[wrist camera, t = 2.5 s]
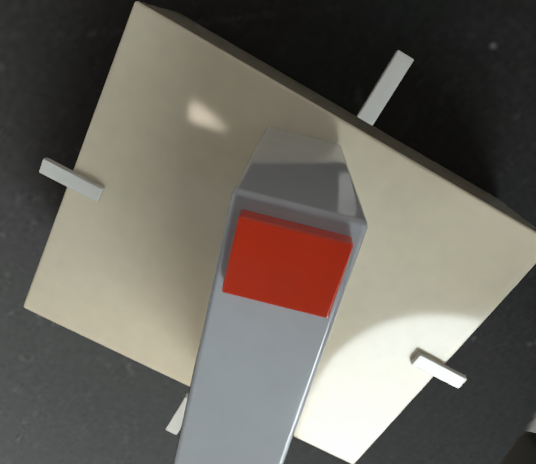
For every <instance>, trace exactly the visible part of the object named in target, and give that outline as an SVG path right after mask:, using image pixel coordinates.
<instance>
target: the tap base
mask: <svg viewBox="0 0 536 464" xmlns="http://www.w3.org/2000/svg"><path fill="white" fill-rule="evenodd" d="M413 61H414V59H413V58H411V57H409V56H408V55H406V54H405V53H403V52H401V51H400V50H397V51H396V52H395V54H394V55H393V57H392V59H391V60H390V62H389V64H388V65H387V67H386V69H385V70H384V72H383V73H382V75H381V77H380V78H379V80H378V82H377V83H376V85H375V87H374V88H373V90H372V91H371V93H370V95H369V96H368V98H367V100H366V101H365V103H364V104H363V106H362V108H361V109H360V111H359V113H358V114H357V116H355V115H353V114H352V113H350V112H348V111H347V110H345V109H343V108H341V107H340V106H338V105H336V104H335V103H333V102H331V101H329V100H328V99H326V98H324V97H323V96H321V95H319V94H317V93H316V92H314V91H312V90H310V89H309V88H307V87H305V86H304V85H302V84H300V83H298V82H297V81H295V80H293V79H292V78H290V77H288V76H286V75H285V74H283V73H281V72H280V71H278V70H276V69H274V68H273V67H271V66H269V65H268V64H266V63H264V62H262V61H261V60H259V59H257V58H256V57H254V56H252V55H250V54H249V53H247V52H245V51H244V50H242V49H240V48H238V47H237V46H235V45H233V44H232V43H230V42H228V41H226V40H225V39H223V38H221V37H220V36H218V35H216V34H214V33H213V32H211V31H209V30H208V29H206V28H204V27H202V26H201V25H199V24H197V23H196V22H194V21H192V20H190V19H189V18H187V17H185V16H184V15H182V14H180V13H178V12H174V11H171V10H167V9H164V8H160V7H157V6H153V5H150V4H146V3H143V2H139V1H136V2H135V3H134V5H133V8H132V11H131V14H130V16H129V19H128V22H127V24H126V27H125V30H124V33H123V35H122V38H121V41H120V44H119V46H118V49H117V52H116V55H115V57H114V60H113V63H112V65H111V68H110V71H109V74H108V76H107V79H106V82H105V85H104V87H103V90H102V93H101V96H100V98H99V101H98V104H97V106H96V109H95V112H94V115H93V117H92V120H91V123H90V126H89V128H88V131H87V134H86V137H85V139H84V142H83V145H82V148H81V150H80V153H79V156H78V158H77V161H76V164H75V167H74V169H73V170H71V169H69V168H67V167H65V166H63V165H61V164H59V163H57V162H55V161H53V160H51V159H50V158H48V157H46V158H44V159H43V161H42V164H41V167H40V170H39V173H41V174H43V175H45V176H47V177H49V178H51V179H53V180H55V181H57V182H59V183H61V184H63V185H64V186H66V187H67V189H66V191H65V194H64V197H63V199H62V202H61V205H60V208H59V210H58V213H57V216H56V219H55V221H54V224H53V227H52V230H51V232H50V235H49V238H48V240H47V243H46V246H45V249H44V251H43V254H42V257H41V260H40V262H39V265H38V268H37V271H36V273H35V276H34V279H33V281H32V284H31V287H30V290H29V292H28V295H27V298H26V301H25V303H24V308H26V309H28V310H30V311H32V312H34V313H36V314H38V315H40V316H42V317H45V318H47V319H49V320H51V321H53V322H55V323H57V324H59V325H61V326H63V327H65V328H68V329H70V330H72V331H74V332H76V333H78V334H80V335H82V336H84V337H86V338H89V339H91V340H93V341H95V342H97V343H99V344H101V345H103V346H105V347H107V348H110V349H112V350H114V351H116V352H118V353H120V354H122V355H124V356H126V357H128V358H130V359H133V360H135V361H137V362H139V363H141V364H143V365H145V366H147V367H149V368H151V369H154V370H156V371H158V372H160V373H162V374H164V375H166V376H168V377H170V378H172V379H175V380H177V381H179V382H181V383H183V384H185V385H187V386H189V387H190V384H191V380H192V375H193V370H194V366H195V361H196V356H197V352H198V347H199V342H200V338H201V333H202V329H203V324H204V319H205V315H206V310H207V305H208V301H209V296H210V291H211V287H212V282H213V277H214V273H215V268H216V264H217V259H218V254H219V250H220V245H221V240H222V236H223V231H224V226H225V222H226V217H227V212H228V208H229V203H230V199H231V194H232V191H233V189H234V188H235V186H236V184H237V182H238V180H239V178H240V176H241V174H242V172H243V171H244V169H245V167H246V165H247V163H248V161H249V159H250V157H251V155H252V154H253V152H254V150H255V148H256V146H257V144H258V142H259V140H260V138H261V137H262V135H263V133H264V131H265V129H266V128H267V127H269V126H271V127H275V128H279V129H283V130H287V131H290V132H294V133H298V134H302V135H306V136H310V137H314V138H318V139H322V140H326V141H329V142H333V143H337V144H339V145H341V147H342V150H343V153H344V156H345V159H346V162H347V165H348V168H349V170H350V173H351V176H352V179H353V182H354V185H355V188H356V191H357V194H358V197H359V200H360V202H361V205H362V208H363V211H364V214H365V217H366V220H367V224H368V228H367V231H366V234H365V236H364V239H363V242H362V245H361V248H360V250H359V253H358V256H357V259H356V262H355V265H354V267H353V270H352V273H351V276H350V279H349V281H348V284H347V287H346V290H345V293H344V295H343V298H342V301H341V304H340V307H339V309H338V312H337V315H336V318H335V321H334V324H333V326H332V329H331V332H330V335H329V338H328V340H327V343H326V346H325V349H324V352H323V354H322V357H321V360H320V363H319V366H318V369H317V371H316V374H315V377H314V380H313V383H312V385H311V388H310V391H309V394H308V397H307V399H306V402H305V405H304V408H303V411H302V413H301V416H300V419H299V422H298V425H297V428H296V430H295V433H294V437H296V438H298V439H300V440H302V441H304V442H307V443H309V444H311V445H313V446H315V447H317V448H319V449H321V450H323V451H325V452H328V453H330V454H332V455H334V456H336V457H338V458H340V459H342V460H344V461H346V462H348V463H351V464H355V463H356V461H357V460H358V459H359V458H360V457H361V456H362V455H363V454H364V453H365V452H366V450H367V449H368V448H369V447H370V446H371V445H372V444H373V443H374V442H375V440H376V439H377V438H378V437H379V436H380V435H381V434H382V433H383V432H384V431H385V429H386V428H387V427H388V426H389V425H390V424H391V423H392V422H393V421H394V420H395V418H396V417H397V416H398V415H399V414H400V413H401V412H402V411H403V410H404V408H405V407H406V406H407V405H408V404H409V403H410V402H411V401H412V400H413V399H414V397H415V396H416V395H417V394H418V393H419V392H420V391H421V390H422V389H423V387H424V386H425V385H426V384H427V383H428V382H429V381H430V380H431V379H432V378H433V376H434V377H436V378H438V379H440V380H442V381H444V382H446V383H448V384H450V385H452V386H454V387H456V388H458V389H459V388H460V387H461V386H462V385H463V384H464V382H465V381H466V380H467V378H466V376H465V375H464V374H462V373H460V372H458V371H456V370H454V369H452V368H450V367H448V366H446V365H444V364H445V363H446V362H447V361H448V360H449V359H450V358H451V357H452V355H453V354H454V353H455V352H456V351H457V350H458V349H459V348H460V347H461V346H462V344H463V343H464V342H465V341H466V340H467V339H468V338H469V337H470V336H471V335H472V333H473V332H474V331H475V330H476V329H477V328H478V327H479V326H480V325H481V323H482V322H483V321H484V320H485V319H486V318H487V317H488V316H489V315H490V314H491V312H492V311H493V310H494V309H495V308H496V307H497V306H498V305H499V304H500V302H501V301H502V300H503V299H504V298H505V297H506V296H507V295H508V294H509V293H510V291H511V290H512V289H513V288H514V287H515V286H516V285H517V284H518V283H519V282H520V280H521V279H522V278H523V277H524V276H525V275H526V274H527V273H528V272H529V270H530V269H531V268H532V267H533V266H534V265H535V264H536V228H535V227H534V226H532V225H531V224H530V223H529V222H527V221H526V220H525V219H523V218H522V217H521V216H520V215H518V214H517V213H516V212H515V211H513V210H512V209H511V208H509V207H508V206H507V205H506V204H504V203H503V202H502V201H501V200H499V199H498V198H496V197H494V196H492V195H491V194H489V193H487V192H486V191H484V190H482V189H480V188H479V187H477V186H475V185H474V184H472V183H470V182H468V181H467V180H465V179H463V178H461V177H460V176H458V175H456V174H455V173H453V172H451V171H449V170H448V169H446V168H444V167H443V166H441V165H439V164H437V163H436V162H434V161H432V160H431V159H429V158H427V157H425V156H424V155H422V154H420V153H419V152H417V151H415V150H413V149H412V148H410V147H408V146H407V145H405V144H403V143H401V142H400V141H398V140H396V139H395V138H393V137H391V136H389V135H388V134H386V133H384V132H383V131H381V130H379V129H377V128H376V127H374V126H372V125H373V124H374V123H375V121H376V119H377V118H378V116H379V115H380V113H381V112H382V110H383V108H384V107H385V105H386V104H387V102H388V101H389V99H390V97H391V96H392V94H393V93H394V91H395V89H396V88H397V86H398V85H399V83H400V82H401V80H402V78H403V77H404V75H405V74H406V72H407V71H408V69H409V67H410V66H411V64H412V63H413ZM187 398H188V394H186V395H185V397H184V398H183V400H182V402H181V403H180V405H179V406H178V408H177V410H176V411H175V413H174V415H173V416H172V418H171V420H170V421H169V423H168V424H167V426H166V429H165V430H167V431H169V432H171V433H173V434H175V435H177V434H178V432H179V430H180V429H181V426H182V421H183V417H184V412H185V407H186V403H187Z"/></svg>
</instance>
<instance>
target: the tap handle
mask: <svg viewBox="0 0 536 464" xmlns="http://www.w3.org/2000/svg"><path fill="white" fill-rule="evenodd" d="M367 228H368V224H367V220H366V217H365V214H364V211H363V208H362V205H361V202H360V200H359V197H358V194H357V191H356V188H355V185H354V182H353V179H352V176H351V173H350V170H349V168H348V165H347V162H346V159H345V156H344V153H343V150H342V147H341V145H339V144H337V143H333V142H329V141H326V140H322V139H318V138H314V137H310V136H306V135H302V134H298V133H294V132H290V131H287V130H283V129H279V128H275V127H271V126H269V127H267V128H266V129H265V131H264V133H263V135H262V137H261V138H260V140H259V142H258V144H257V146H256V148H255V150H254V152H253V154H252V155H251V157H250V159H249V161H248V163H247V165H246V167H245V169H244V171H243V172H242V174H241V176H240V178H239V180H238V182H237V184H236V186H235V188H234V189H233V191H232V194H231V199H230V203H229V208H228V212H227V217H226V222H225V226H224V231H223V236H222V240H221V245H220V250H219V254H218V259H217V264H216V268H215V273H214V277H213V282H212V287H211V291H210V296H209V301H208V305H207V310H206V315H205V319H204V324H203V329H202V333H201V338H200V342H199V347H198V352H197V356H196V361H195V366H194V370H193V375H192V380H191V384H190V389H189V394H188V398H187V403H186V407H185V412H184V417H183V421H182V426H181V431H180V435H179V440H178V445H177V449H176V454H175V459H174V463H173V464H284V461H285V458H286V456H287V453H288V450H289V447H290V444H291V442H292V439H293V436H294V433H295V430H296V428H297V425H298V422H299V419H300V416H301V413H302V411H303V408H304V405H305V402H306V399H307V397H308V394H309V391H310V388H311V385H312V383H313V380H314V377H315V374H316V371H317V369H318V366H319V363H320V360H321V357H322V354H323V352H324V349H325V346H326V343H327V340H328V338H329V335H330V332H331V329H332V326H333V324H334V321H335V318H336V315H337V312H338V309H339V307H340V304H341V301H342V298H343V295H344V293H345V290H346V287H347V284H348V281H349V279H350V276H351V273H352V270H353V267H354V265H355V262H356V259H357V256H358V253H359V250H360V248H361V245H362V242H363V239H364V236H365V234H366V231H367Z"/></svg>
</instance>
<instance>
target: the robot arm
mask: <svg viewBox="0 0 536 464" xmlns="http://www.w3.org/2000/svg"><path fill="white" fill-rule="evenodd" d="M501 464H536V433H532V432H522V433H521V434H519V435H518V436H517V438H516V440H515V441H514V443H513V444H512V446H511V447H510V449H509V451H508V452H507V454H506V455H505V457H504V459H503V460H502V462H501Z"/></svg>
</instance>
